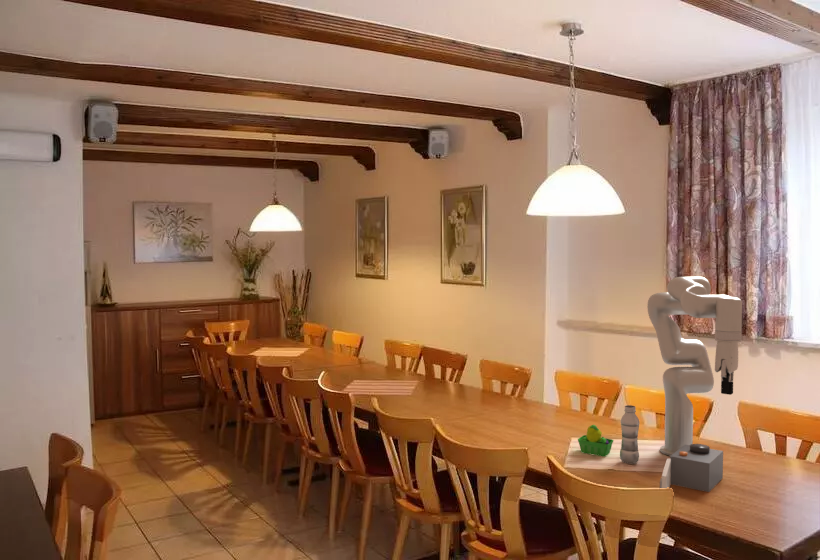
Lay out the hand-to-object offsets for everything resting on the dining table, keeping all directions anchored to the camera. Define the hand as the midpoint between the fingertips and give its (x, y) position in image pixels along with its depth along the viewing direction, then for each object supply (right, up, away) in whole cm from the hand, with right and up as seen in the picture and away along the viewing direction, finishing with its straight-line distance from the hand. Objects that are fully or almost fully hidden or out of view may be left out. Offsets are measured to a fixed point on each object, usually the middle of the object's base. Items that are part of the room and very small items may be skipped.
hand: (727, 393), depth 221 cm
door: (-22, -29, -7) cm, 37 cm away
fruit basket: (-33, -28, +34) cm, 55 cm away
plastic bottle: (-24, -28, +23) cm, 43 cm away
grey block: (-8, -29, +4) cm, 30 cm away
